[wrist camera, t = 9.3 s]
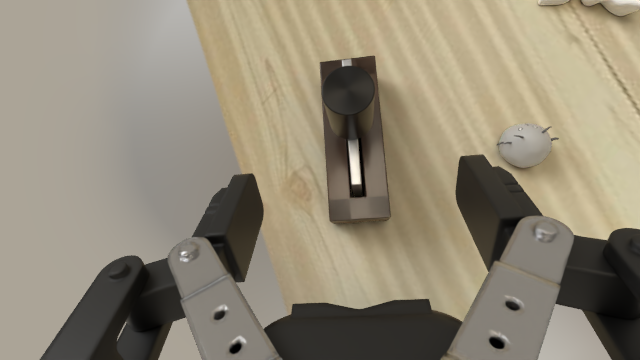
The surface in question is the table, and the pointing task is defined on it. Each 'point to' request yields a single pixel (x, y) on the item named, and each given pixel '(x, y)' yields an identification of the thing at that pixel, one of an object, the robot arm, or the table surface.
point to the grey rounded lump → (525, 145)
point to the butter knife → (350, 111)
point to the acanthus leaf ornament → (618, 3)
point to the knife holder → (373, 162)
